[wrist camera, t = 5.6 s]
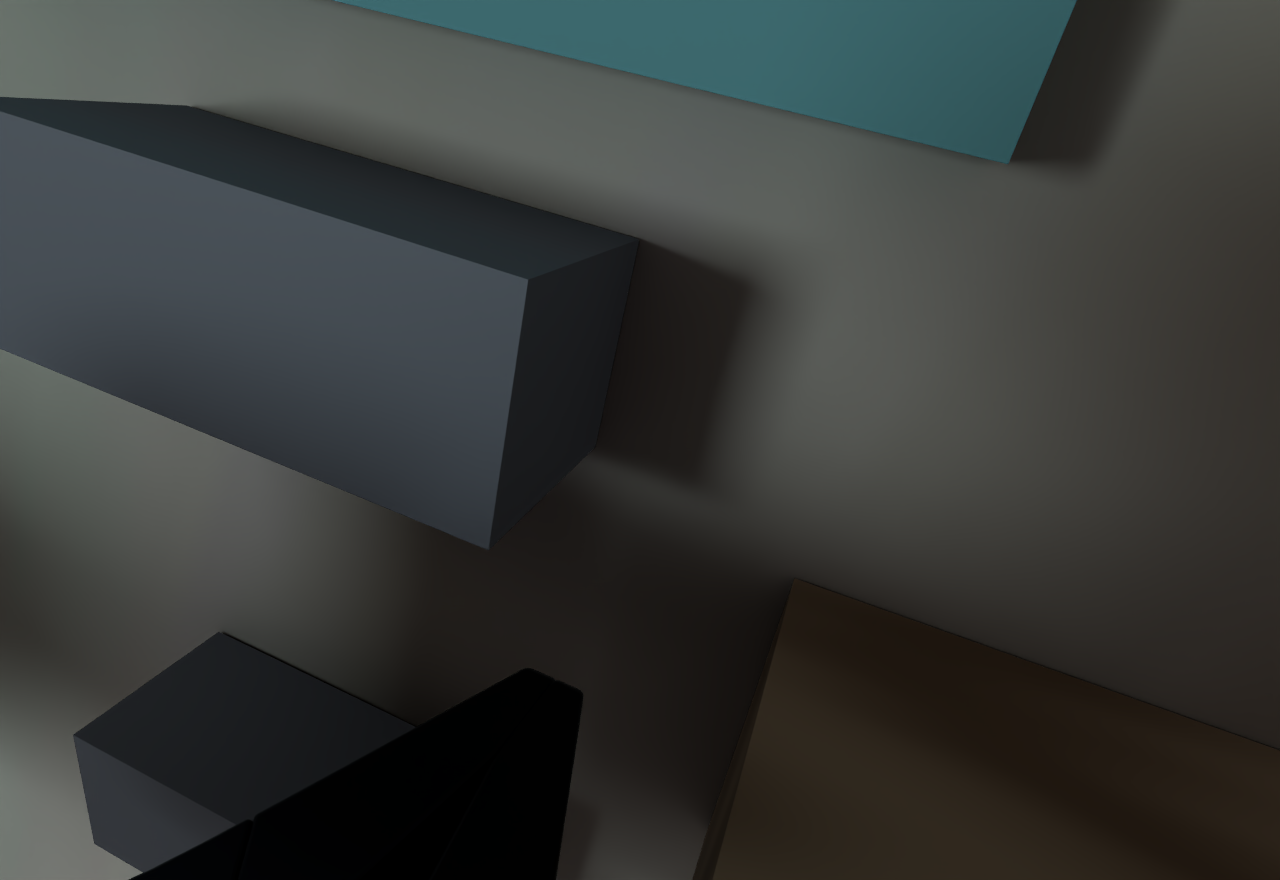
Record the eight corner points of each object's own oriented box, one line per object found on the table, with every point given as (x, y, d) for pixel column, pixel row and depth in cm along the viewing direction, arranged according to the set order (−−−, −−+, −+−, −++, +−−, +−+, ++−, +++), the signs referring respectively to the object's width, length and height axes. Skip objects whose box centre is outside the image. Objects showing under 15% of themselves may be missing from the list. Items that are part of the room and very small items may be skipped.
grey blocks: (224, 731, 14) (94, 843, 12) (186, 105, 9) (-53, 94, 7) (504, 876, 12) (417, 1033, 10) (639, 238, 8) (528, 279, 5)
